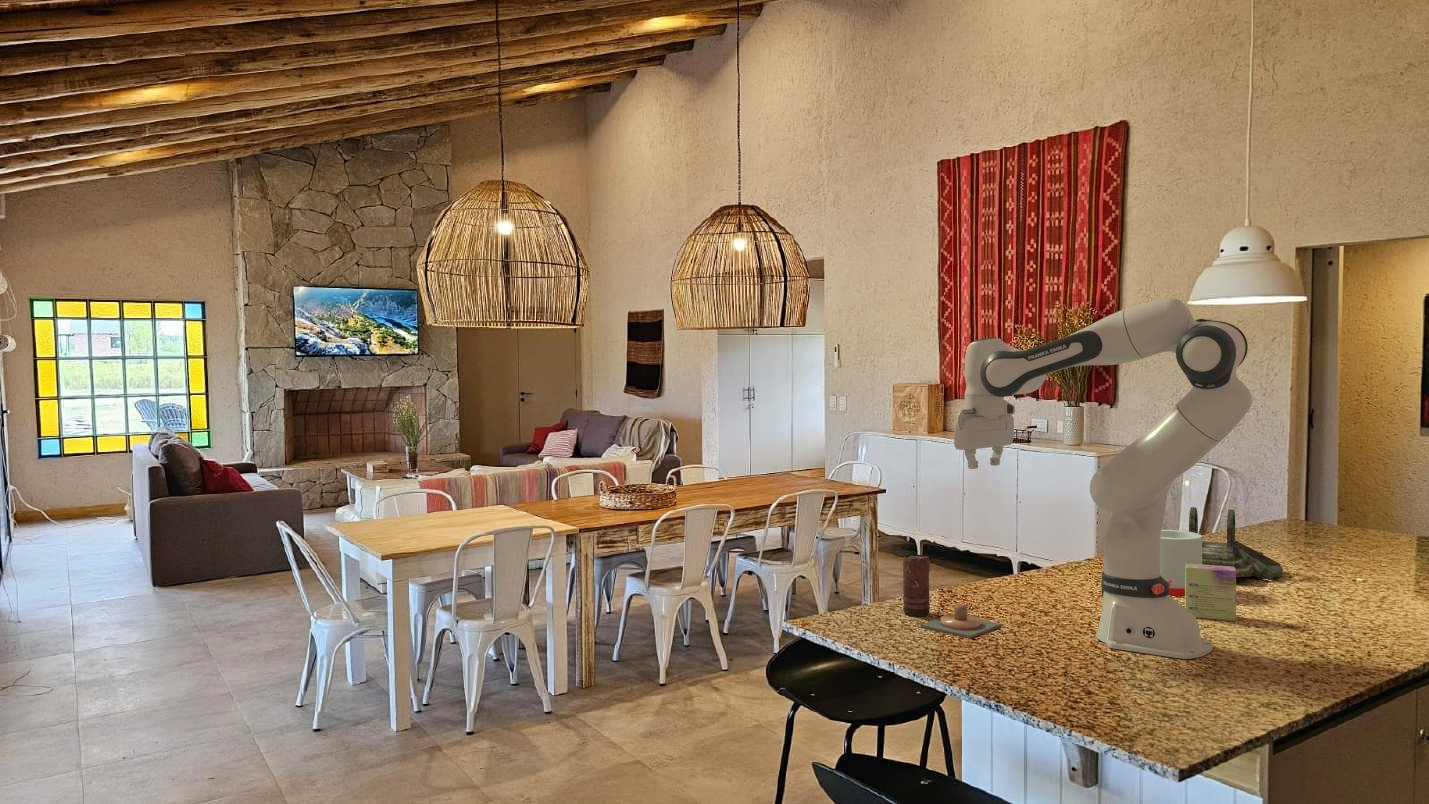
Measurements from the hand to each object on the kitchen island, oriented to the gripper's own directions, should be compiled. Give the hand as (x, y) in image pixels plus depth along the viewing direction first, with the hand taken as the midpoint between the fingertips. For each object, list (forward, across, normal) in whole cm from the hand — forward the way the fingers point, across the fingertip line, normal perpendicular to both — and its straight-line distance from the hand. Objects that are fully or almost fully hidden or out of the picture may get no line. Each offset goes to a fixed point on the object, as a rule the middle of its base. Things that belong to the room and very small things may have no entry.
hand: (984, 467), depth 221 cm
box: (+36, +38, -36) cm, 64 cm away
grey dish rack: (+36, +91, -18) cm, 99 cm away
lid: (+35, -9, 0) cm, 37 cm away
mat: (+36, -9, 0) cm, 37 cm away
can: (+36, -7, +14) cm, 40 cm away
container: (+36, +59, -19) cm, 72 cm away
